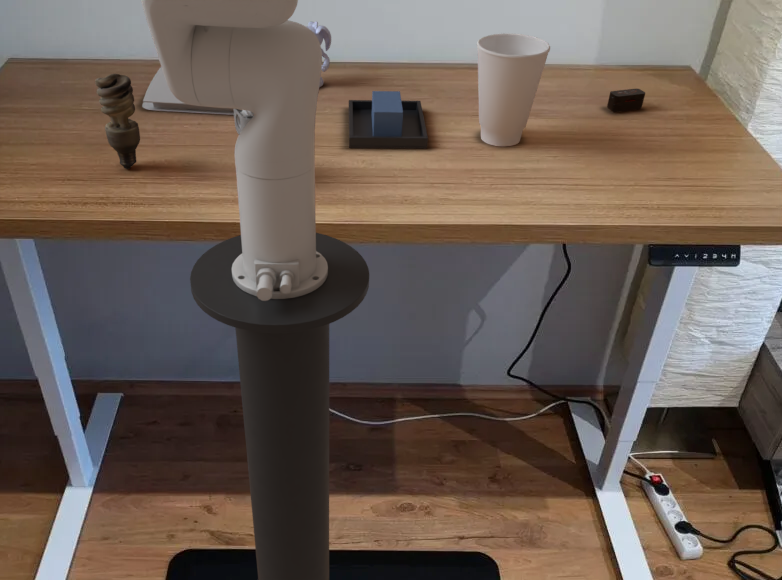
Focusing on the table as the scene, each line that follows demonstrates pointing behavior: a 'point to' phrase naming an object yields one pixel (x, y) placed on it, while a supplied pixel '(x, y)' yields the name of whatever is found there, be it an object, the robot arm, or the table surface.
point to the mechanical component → (242, 119)
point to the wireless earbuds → (625, 100)
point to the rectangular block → (387, 113)
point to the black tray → (363, 136)
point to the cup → (508, 84)
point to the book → (173, 99)
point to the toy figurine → (320, 34)
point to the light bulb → (119, 116)
